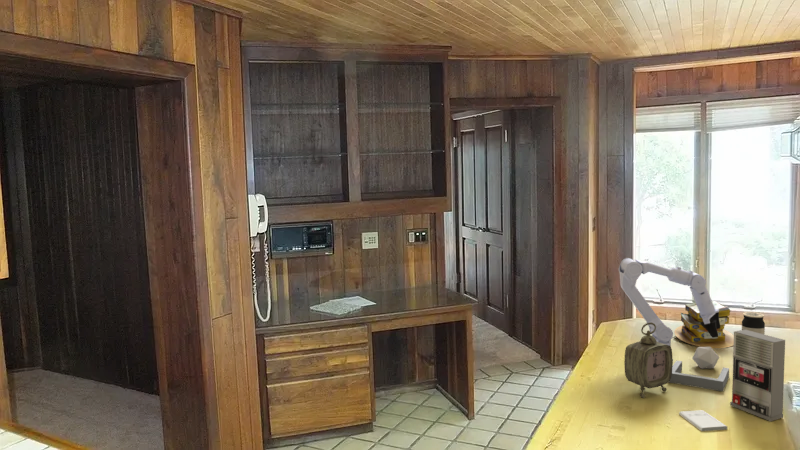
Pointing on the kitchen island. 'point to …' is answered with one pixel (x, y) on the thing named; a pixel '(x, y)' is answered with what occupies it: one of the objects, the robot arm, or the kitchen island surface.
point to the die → (705, 357)
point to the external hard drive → (703, 420)
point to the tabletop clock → (648, 362)
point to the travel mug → (753, 322)
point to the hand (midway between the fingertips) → (716, 332)
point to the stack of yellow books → (698, 334)
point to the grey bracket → (699, 378)
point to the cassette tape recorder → (758, 374)
